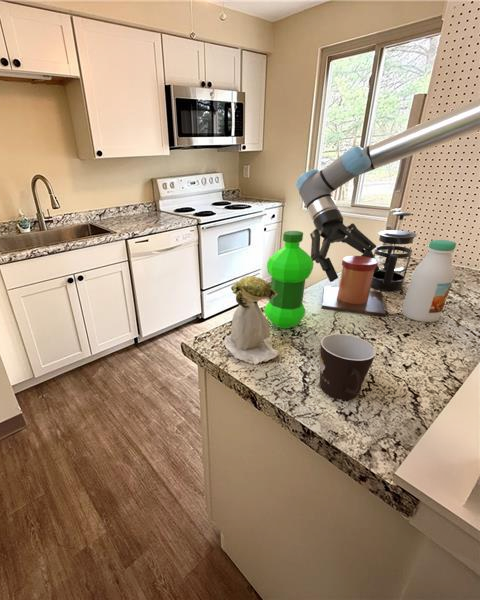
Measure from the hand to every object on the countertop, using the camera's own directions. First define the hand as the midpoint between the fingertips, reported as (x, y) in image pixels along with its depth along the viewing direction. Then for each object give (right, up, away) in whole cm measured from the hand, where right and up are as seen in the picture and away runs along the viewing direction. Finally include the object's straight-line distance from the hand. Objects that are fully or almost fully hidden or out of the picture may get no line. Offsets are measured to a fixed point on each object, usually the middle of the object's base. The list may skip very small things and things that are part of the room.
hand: (355, 276), depth 89 cm
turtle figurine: (-35, -19, -14) cm, 42 cm away
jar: (+1, -6, +2) cm, 7 cm away
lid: (0, +4, -2) cm, 5 cm away
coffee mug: (-24, -25, -29) cm, 45 cm away
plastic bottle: (-23, -13, -5) cm, 27 cm away
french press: (+16, -3, +10) cm, 19 cm away
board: (+1, -7, +3) cm, 8 cm away
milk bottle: (+12, -11, -8) cm, 18 cm away
